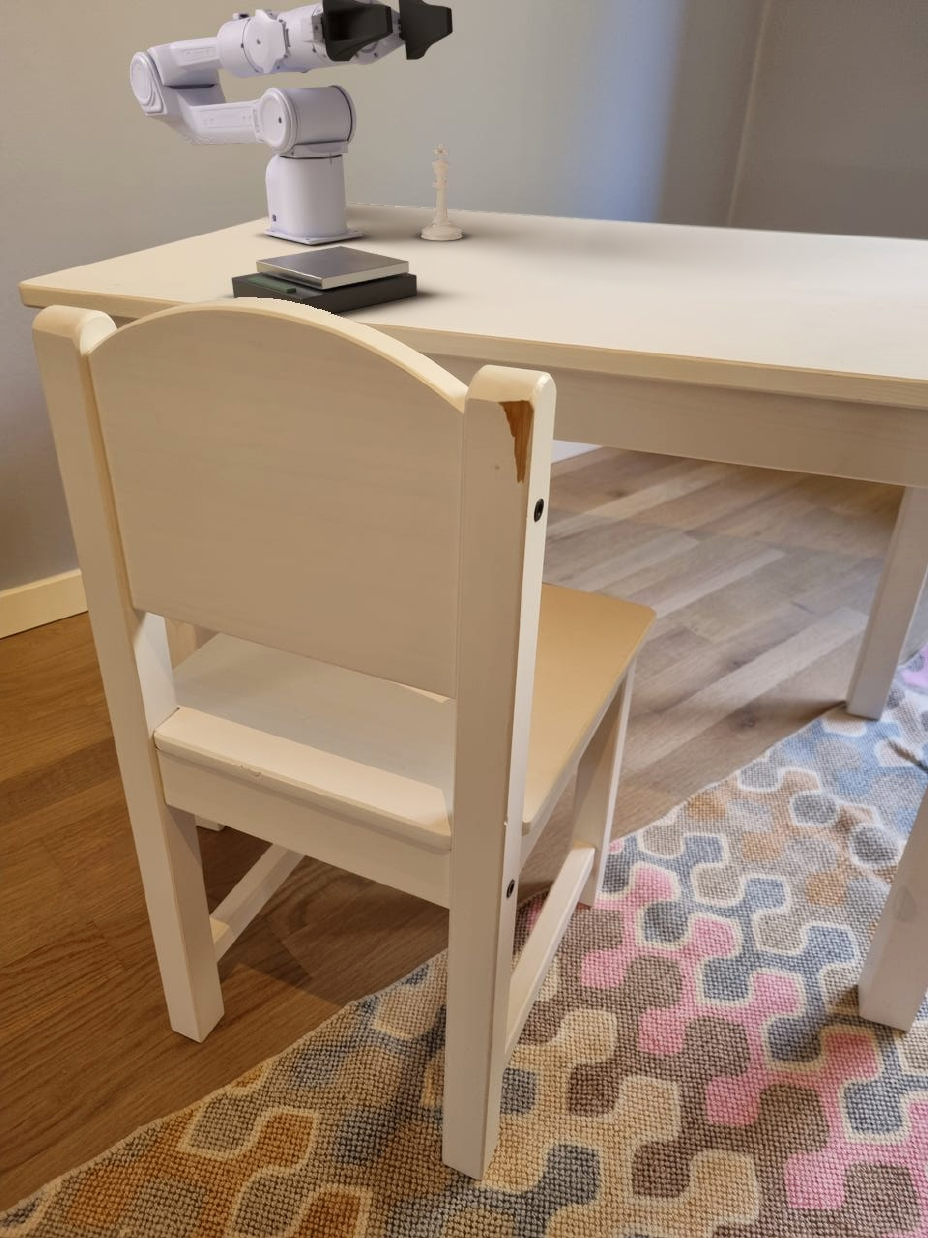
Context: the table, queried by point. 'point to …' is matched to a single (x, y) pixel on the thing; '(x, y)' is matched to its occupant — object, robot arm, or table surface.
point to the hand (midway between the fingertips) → (420, 19)
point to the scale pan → (332, 267)
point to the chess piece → (441, 204)
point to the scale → (326, 291)
